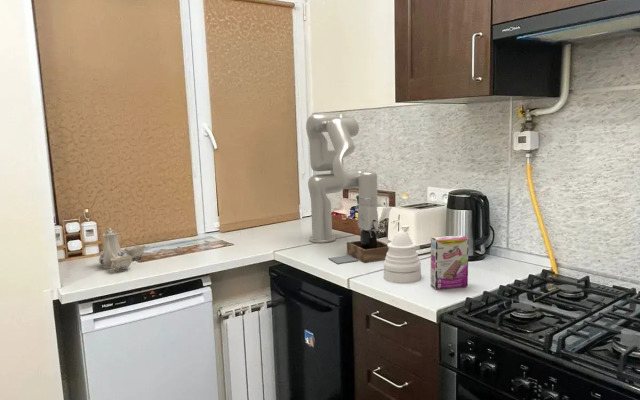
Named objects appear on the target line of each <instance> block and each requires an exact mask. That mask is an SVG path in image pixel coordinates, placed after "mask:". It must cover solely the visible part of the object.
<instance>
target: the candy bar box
mask: <svg viewBox="0 0 640 400" xmlns="http://www.w3.org/2000/svg"><path fill="white" fill-rule="evenodd" d="M469 242H470V241H469V238H468V237H466V236H464V235H448V236H447V235H446V236H431V237H430V287H432V288H433V289H435V290H446V289H457V288H458V289H459V288H460V289H461V288H468V283H469V281H468V280H469Z"/></svg>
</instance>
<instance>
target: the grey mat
mask: <svg viewBox="0 0 640 400" xmlns="http://www.w3.org/2000/svg"><path fill="white" fill-rule="evenodd" d="M328 260H329V261H331V262H332V263H335V264H337V265H342V264H343V265H344V264H348V263H356V262H359V260H358V259H356V258H354V257H352V256H350V255H348V254H346V255H341V256H340V255H339V256H332V257H328Z"/></svg>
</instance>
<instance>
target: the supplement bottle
mask: <svg viewBox="0 0 640 400" xmlns="http://www.w3.org/2000/svg"><path fill="white" fill-rule="evenodd" d="M371 230H373V228H372V229H371ZM373 232H374V231H373ZM373 232H372V233H373ZM359 233H360V236H359V238H360V240H359V241H360V247H361V248H363V249H365V250H367V249H374V248H377V246H376V247H369V237H370V234H369V231H365V230H361V232H360V231H359Z"/></svg>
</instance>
